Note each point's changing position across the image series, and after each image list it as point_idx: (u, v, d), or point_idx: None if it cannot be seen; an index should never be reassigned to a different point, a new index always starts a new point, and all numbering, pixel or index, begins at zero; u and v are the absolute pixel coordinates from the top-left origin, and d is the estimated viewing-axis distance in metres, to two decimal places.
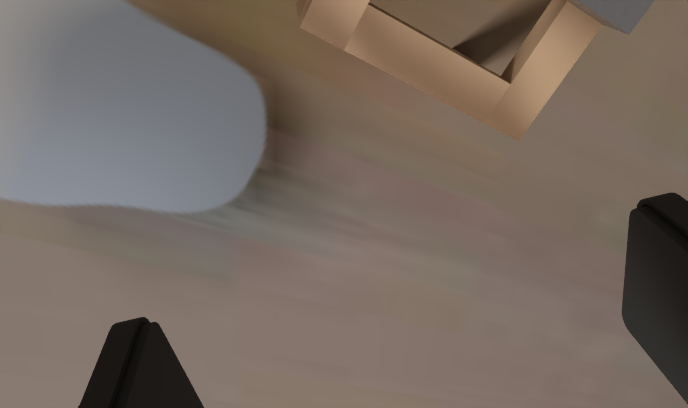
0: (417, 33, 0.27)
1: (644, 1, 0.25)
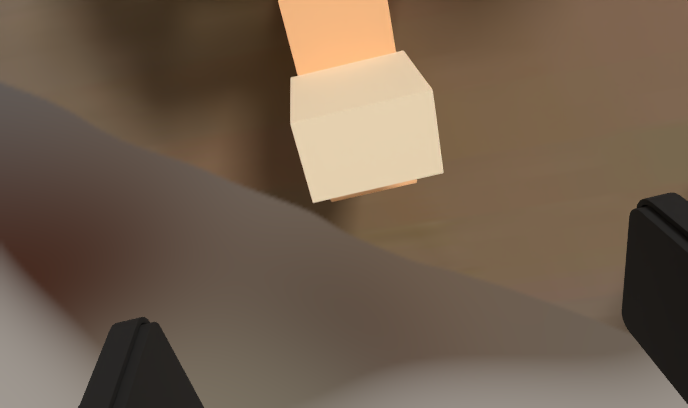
0: None
1: None
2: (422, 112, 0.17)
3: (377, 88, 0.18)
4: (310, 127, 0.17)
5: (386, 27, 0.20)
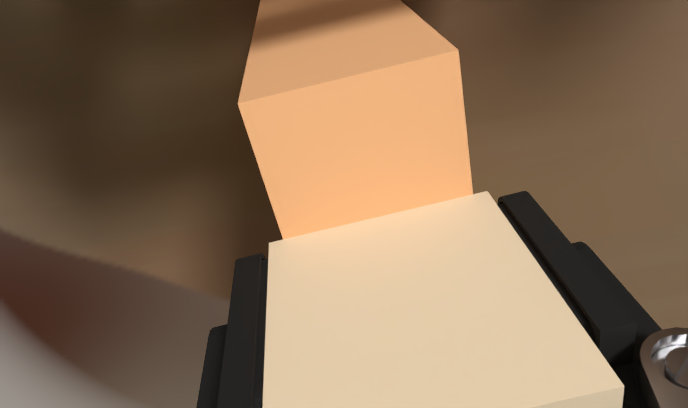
0: None
1: None
2: None
3: (465, 339, 0.08)
4: None
5: (459, 153, 0.10)
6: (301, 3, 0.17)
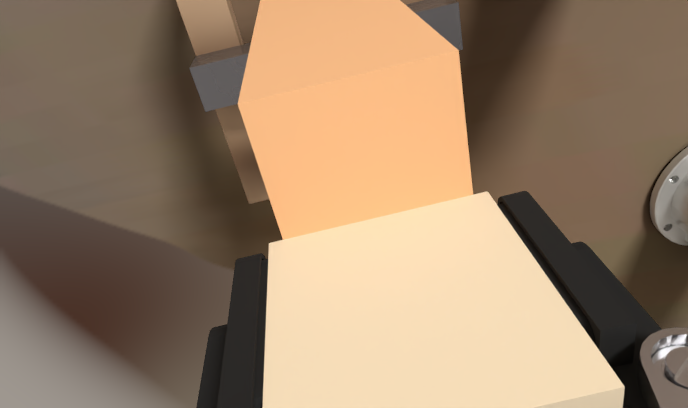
0: None
1: (207, 93, 0.27)
2: None
3: (465, 340, 0.08)
4: None
5: (459, 153, 0.10)
6: (301, 3, 0.16)
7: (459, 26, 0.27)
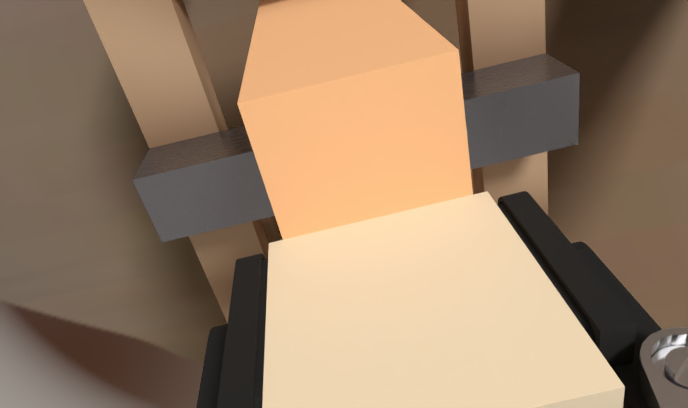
0: None
1: (163, 216, 0.17)
2: None
3: (465, 340, 0.08)
4: None
5: (459, 153, 0.10)
6: (301, 3, 0.16)
7: (577, 110, 0.16)
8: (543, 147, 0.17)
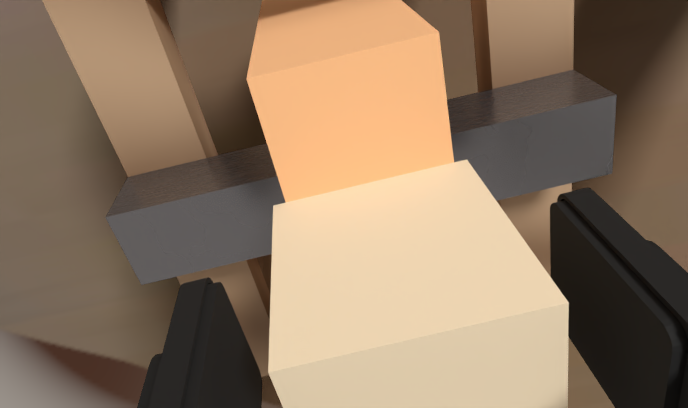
0: None
1: (142, 257, 0.15)
2: (541, 341, 0.08)
3: (440, 273, 0.09)
4: (309, 376, 0.08)
5: (441, 124, 0.12)
6: None
7: (611, 136, 0.14)
8: (572, 177, 0.15)
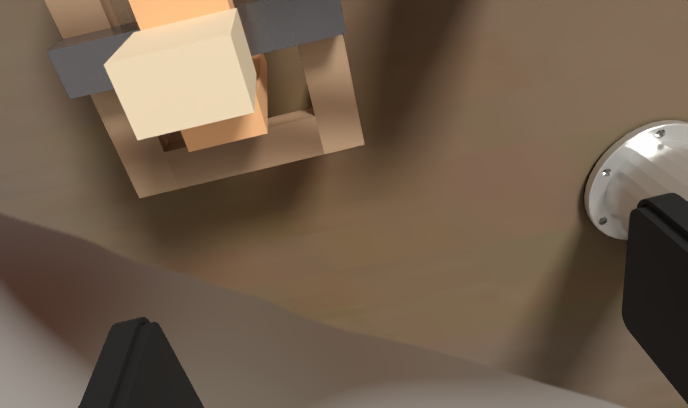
0: None
1: (69, 79, 0.25)
2: (224, 56, 0.19)
3: (190, 36, 0.20)
4: (123, 69, 0.19)
5: None
6: None
7: (340, 8, 0.25)
8: (323, 35, 0.26)
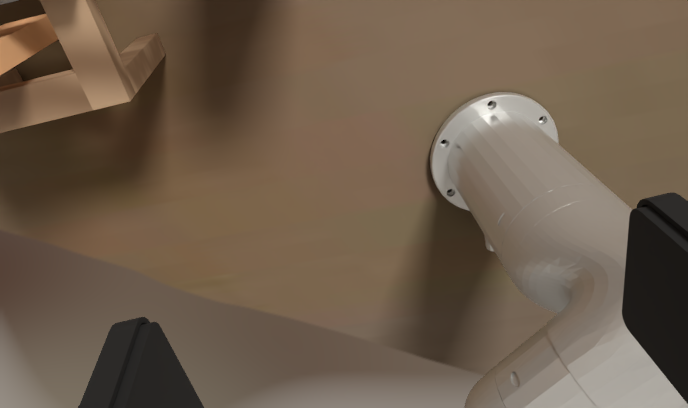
0: None
1: None
2: None
3: None
4: None
5: None
6: None
7: None
8: None
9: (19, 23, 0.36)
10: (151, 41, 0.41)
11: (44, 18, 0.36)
